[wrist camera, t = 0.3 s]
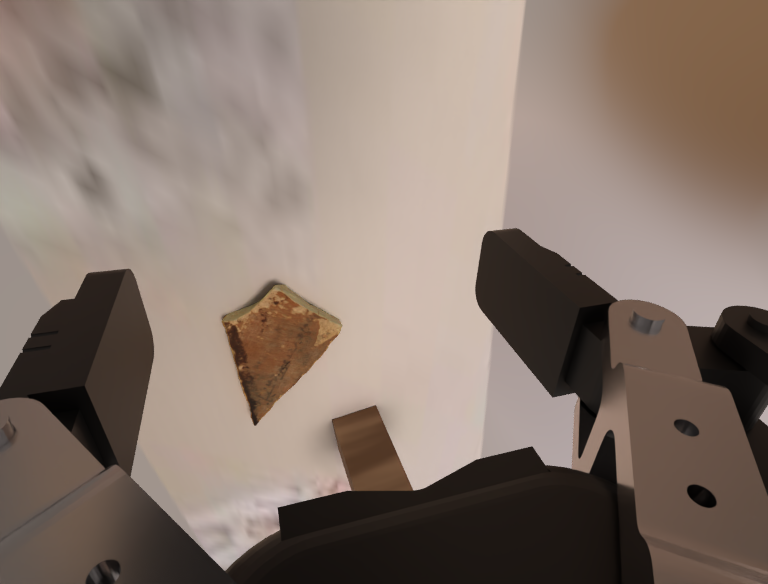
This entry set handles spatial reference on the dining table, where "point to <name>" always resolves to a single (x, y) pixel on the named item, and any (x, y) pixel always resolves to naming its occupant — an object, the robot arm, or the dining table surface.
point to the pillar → (369, 453)
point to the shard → (276, 345)
